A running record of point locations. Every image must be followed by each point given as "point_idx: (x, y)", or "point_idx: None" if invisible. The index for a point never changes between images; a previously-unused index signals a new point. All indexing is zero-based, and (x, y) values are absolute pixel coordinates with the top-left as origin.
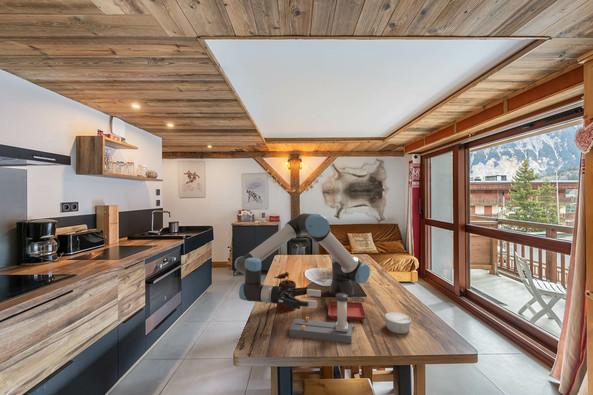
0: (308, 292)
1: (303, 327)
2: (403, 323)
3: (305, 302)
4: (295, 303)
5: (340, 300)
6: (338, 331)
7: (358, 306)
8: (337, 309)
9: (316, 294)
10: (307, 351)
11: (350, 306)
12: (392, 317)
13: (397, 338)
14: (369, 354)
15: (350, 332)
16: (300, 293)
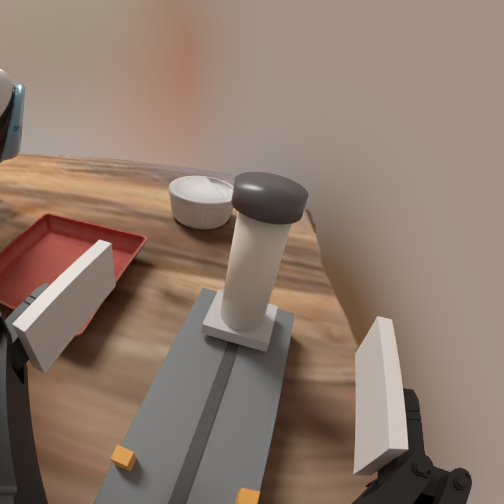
0: (44, 340)
1: (256, 499)
2: None
3: (407, 408)
4: (463, 489)
5: (302, 214)
6: None
7: (45, 230)
8: (260, 270)
9: (94, 295)
10: (365, 485)
11: (29, 246)
12: (203, 194)
13: None
14: (338, 307)
15: None
16: (23, 425)
